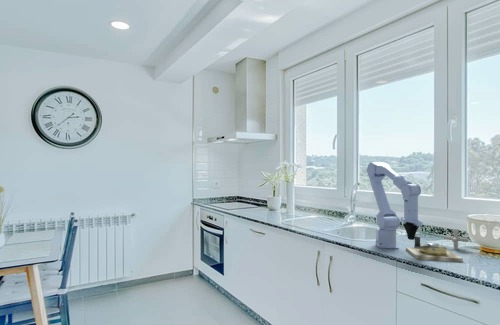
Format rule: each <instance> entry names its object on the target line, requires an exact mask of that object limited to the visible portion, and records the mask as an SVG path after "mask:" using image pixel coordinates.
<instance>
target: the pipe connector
mask: <svg viewBox="0 0 500 325" xmlns="http://www.w3.org/2000/svg"><path fill="white" fill-rule="evenodd" d="M443 239H444V240H446V241H447V240H449V241H452V243H453V249H454V250H458V249H459V242H464V243H469V238H467V237H460V236H459V229H458V228H453V236H452V235H451V236H449V235H443Z"/></svg>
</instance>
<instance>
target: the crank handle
mask: <svg viewBox="0 0 500 325" xmlns="http://www.w3.org/2000/svg"><path fill="white" fill-rule="evenodd" d="M413 246H414V247H413V248H416V249H419V252H421V253H424V254H429V255H437V256H442V255H446V254H447V250H448V249H447V248H448V247H446V246H443V245H439V243H436V242H426V243H421V237H420V236H415V238H414V245H413Z"/></svg>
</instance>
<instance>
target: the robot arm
mask: <svg viewBox="0 0 500 325" xmlns="http://www.w3.org/2000/svg"><path fill="white" fill-rule="evenodd" d="M366 172H367V175H368V178H369V183H370V186H371V189H372V192H373V194H374V197H375V201H376V205H377V208H378V210H379V212H378V213H377V214H376V223H377V226H378V228H376V230H375V245H376V246H377V247H378V248H379V249H380V248H381V249H397V250H398V249H400V247H399V246H397V230H398V228H399V227H400V225H401V222H404V223H402V226H403V228H404V230H405V232H406V236H407V239H408V240H409V241H411V240H413V241H415V237H416V234H417V231H418V229H419V228H420V227H423V222H422V221H421V220H419V196H420V195H421V192H422V189H421V186H420V185H419V184H418V183H413V182H412V181H411V180H409V179H407V177H406V176H405V175H404V174H399V175H398V173H396V172H395V171H394V170H393V169H392V168H391V165H390V164H389V163H387V162H369V163H368V164H367V167H366ZM386 177H387V178H389V179H390V180H392V184H393V185H394V186H396V188H398V189H399V190H400V192H401V195H402V200H403V205H404V206H403V216H400V218H399V216H398V215H397V213H396V212H395V211H394V210H392V209H391V206H390V202H389V201H388V198H387V195H386V192H385V188H384V186H383V183H382V181H383V180H385V178H386Z"/></svg>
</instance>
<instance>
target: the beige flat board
mask: <svg viewBox="0 0 500 325" xmlns="http://www.w3.org/2000/svg"><path fill="white" fill-rule="evenodd" d="M405 251H406V252H407V253H408V254H410V255H411V256H412V257H414V259H416V260H417V261H418V260H419V261H438V262H453V263H454V262H456V263H458V262H459V263H463V262H464V259H463V257H461V256H459V255H457V254H456V253H454V252H452V251H451V250H449V249H447V254H446V255H442V256H437V255H429V254H424V253H421V252H419V249H416V248H414V247H410V246H408V247H407V246H406V247H405Z"/></svg>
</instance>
